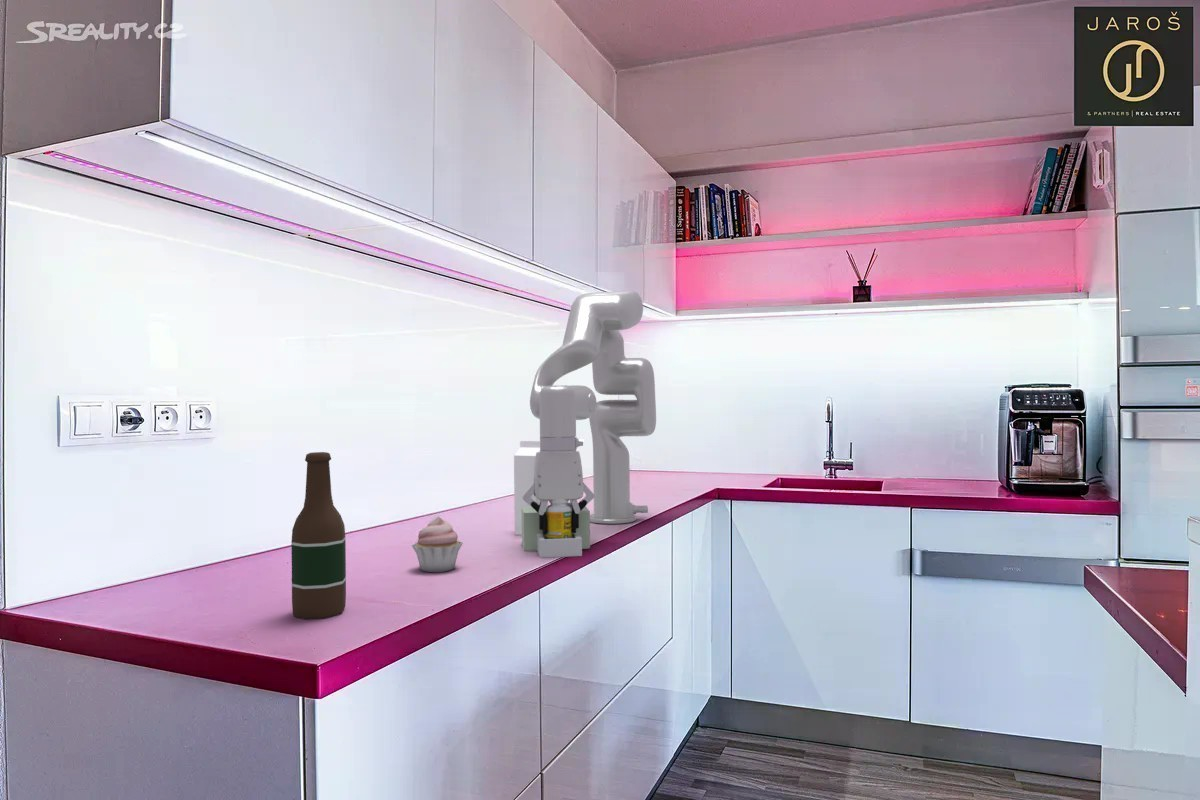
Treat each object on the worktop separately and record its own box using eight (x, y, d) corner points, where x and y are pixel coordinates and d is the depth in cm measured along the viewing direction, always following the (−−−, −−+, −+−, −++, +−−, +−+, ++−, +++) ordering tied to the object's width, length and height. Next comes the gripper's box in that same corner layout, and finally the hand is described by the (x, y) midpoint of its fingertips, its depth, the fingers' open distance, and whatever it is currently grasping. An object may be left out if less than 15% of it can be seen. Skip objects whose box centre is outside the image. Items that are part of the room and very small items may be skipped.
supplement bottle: (552, 538, 161) (552, 493, 161) (575, 540, 160) (575, 494, 160) (542, 543, 156) (541, 496, 156) (566, 544, 154) (565, 497, 154)
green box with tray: (584, 540, 171) (583, 500, 171) (595, 555, 155) (595, 511, 155) (521, 543, 169) (521, 502, 169) (526, 558, 152) (525, 513, 152)
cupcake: (429, 577, 137) (428, 521, 137) (403, 569, 143) (402, 516, 143) (472, 569, 143) (472, 515, 143) (445, 561, 150) (445, 511, 150)
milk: (527, 531, 185) (526, 440, 185) (549, 532, 182) (548, 440, 183) (514, 535, 179) (513, 441, 180) (536, 536, 177) (535, 441, 177)
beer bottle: (339, 603, 119) (338, 450, 120) (352, 614, 113) (351, 452, 113) (287, 610, 115) (285, 452, 115) (297, 623, 109) (295, 455, 109)
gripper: (596, 443, 163) (597, 528, 163) (515, 445, 160) (516, 531, 160) (601, 445, 155) (602, 534, 156) (517, 447, 153) (518, 537, 153)
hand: (559, 531), depth 158 cm, fingers closed on supplement bottle, 5 cm apart
